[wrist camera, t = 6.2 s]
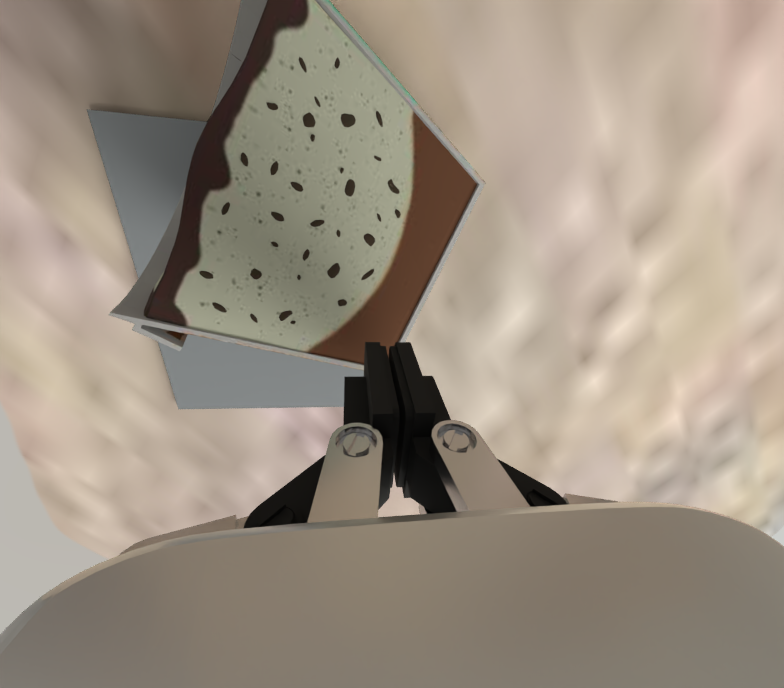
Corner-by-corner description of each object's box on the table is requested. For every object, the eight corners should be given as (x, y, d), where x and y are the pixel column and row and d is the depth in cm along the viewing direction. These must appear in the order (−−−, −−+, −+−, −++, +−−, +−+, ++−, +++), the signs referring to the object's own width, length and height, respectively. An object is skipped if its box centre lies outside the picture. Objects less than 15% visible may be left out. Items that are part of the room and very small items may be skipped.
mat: (373, 139, 15) (374, 139, 15) (362, 402, 23) (362, 406, 22) (93, 111, 14) (86, 109, 13) (181, 405, 21) (178, 409, 21)
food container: (426, 167, 18) (250, 21, 13) (502, 148, 13) (261, -106, 8) (337, 355, 20) (148, 291, 15) (374, 403, 15) (102, 330, 10)
